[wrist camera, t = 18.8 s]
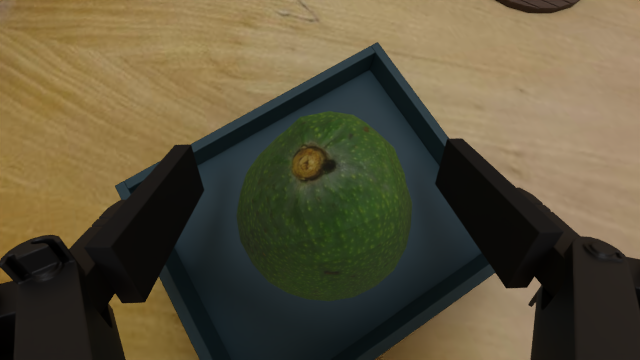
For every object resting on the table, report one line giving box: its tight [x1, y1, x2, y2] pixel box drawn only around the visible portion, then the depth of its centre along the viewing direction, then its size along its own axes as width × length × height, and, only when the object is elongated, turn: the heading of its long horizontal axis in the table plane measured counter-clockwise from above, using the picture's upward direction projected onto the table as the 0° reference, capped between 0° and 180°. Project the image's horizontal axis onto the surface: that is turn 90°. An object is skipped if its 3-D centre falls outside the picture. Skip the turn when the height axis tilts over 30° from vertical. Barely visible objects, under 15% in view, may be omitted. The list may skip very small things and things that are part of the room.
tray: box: [115, 42, 495, 360], centre depth 18 cm, size 19×16×3 cm
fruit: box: [236, 111, 412, 301], centre depth 13 cm, size 8×8×12 cm
